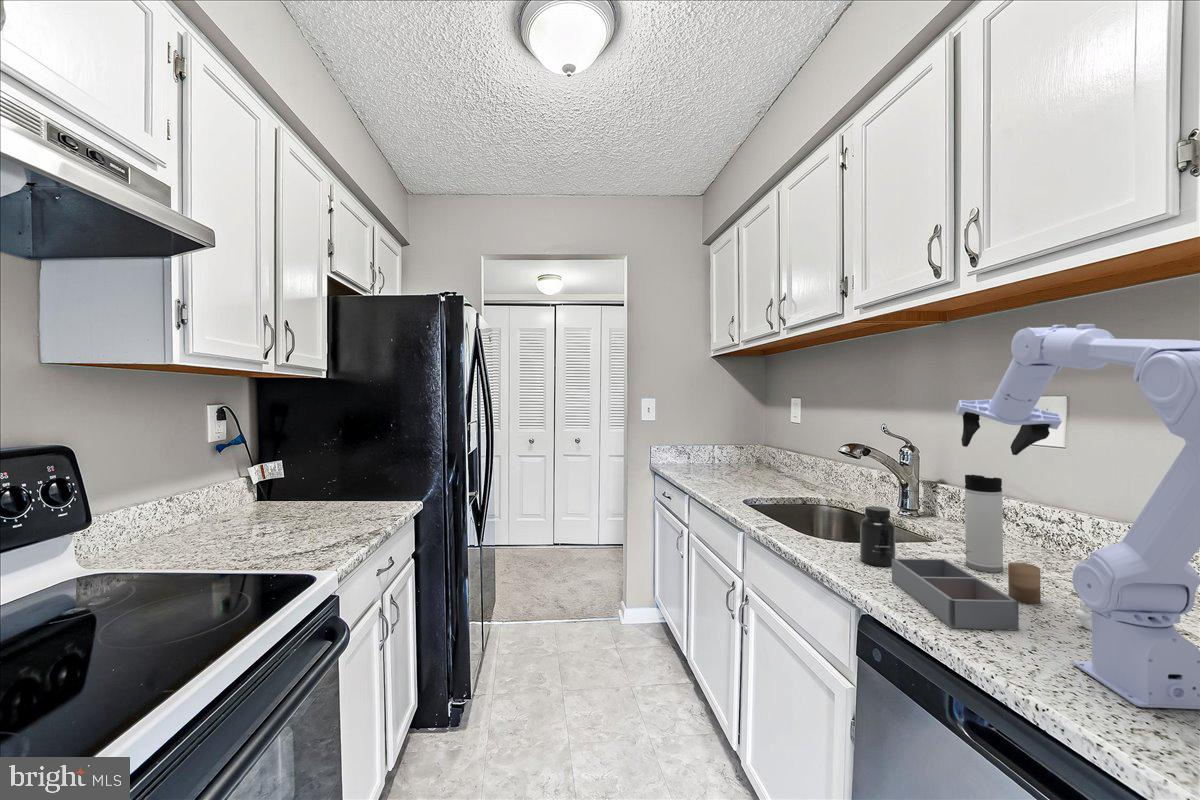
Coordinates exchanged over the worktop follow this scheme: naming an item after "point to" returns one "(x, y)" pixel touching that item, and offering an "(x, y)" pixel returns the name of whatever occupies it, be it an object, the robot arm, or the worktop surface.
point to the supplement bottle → (877, 537)
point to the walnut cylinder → (1024, 583)
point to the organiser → (955, 594)
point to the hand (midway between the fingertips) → (988, 447)
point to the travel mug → (984, 523)
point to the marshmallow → (1084, 615)
